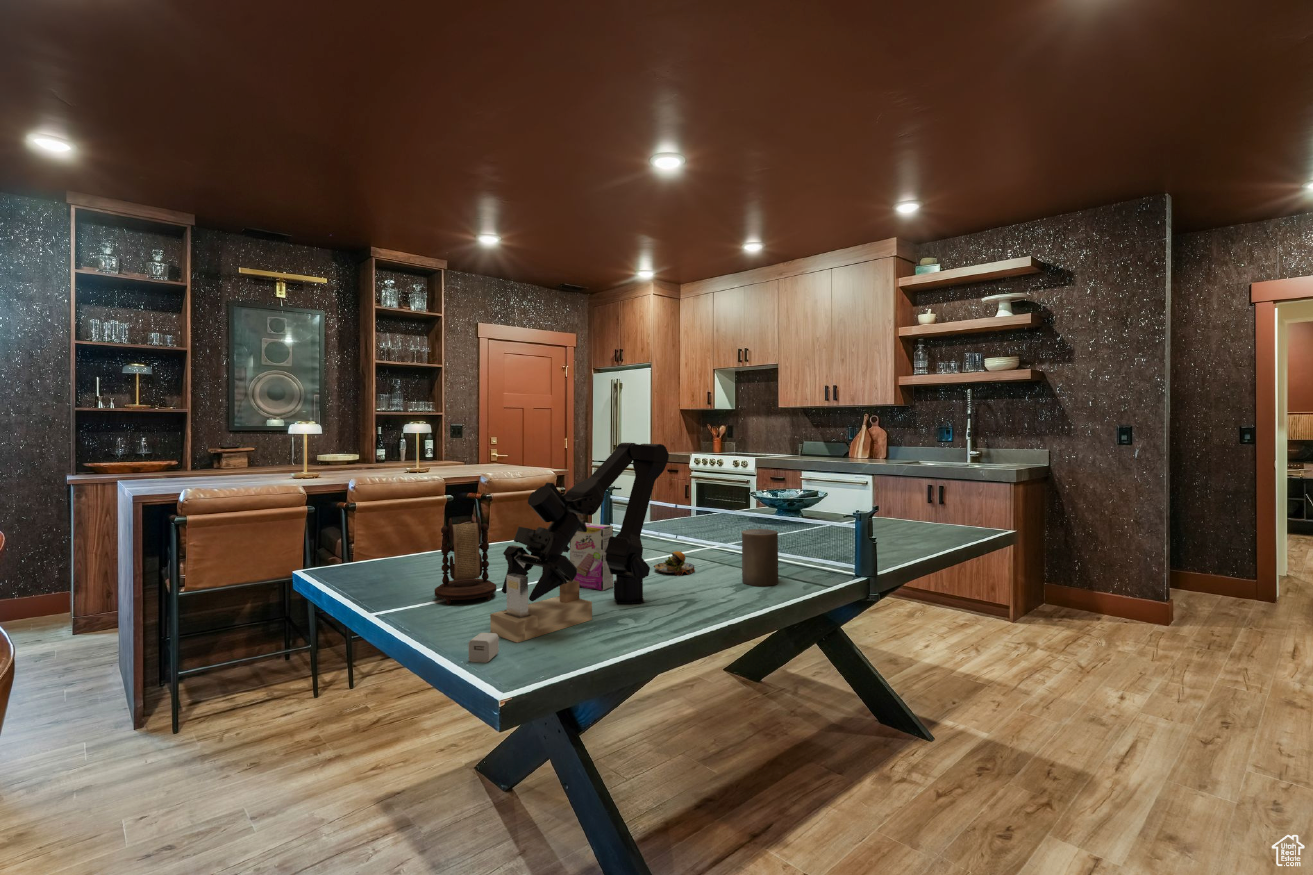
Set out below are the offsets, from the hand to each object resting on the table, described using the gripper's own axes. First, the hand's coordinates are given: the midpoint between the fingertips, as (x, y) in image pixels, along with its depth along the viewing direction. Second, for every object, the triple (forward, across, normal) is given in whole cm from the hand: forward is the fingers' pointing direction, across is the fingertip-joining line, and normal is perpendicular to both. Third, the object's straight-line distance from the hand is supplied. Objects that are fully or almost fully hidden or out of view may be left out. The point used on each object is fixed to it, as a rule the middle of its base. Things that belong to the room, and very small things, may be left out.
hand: (516, 596), depth 138 cm
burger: (-40, -12, +51) cm, 66 cm away
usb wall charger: (+14, +6, -2) cm, 15 cm away
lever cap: (+5, 0, +6) cm, 8 cm away
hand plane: (+1, 0, +10) cm, 10 cm away
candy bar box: (-20, -17, +31) cm, 41 cm away
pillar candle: (-44, +14, +54) cm, 71 cm away
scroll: (-1, -33, +12) cm, 35 cm away
